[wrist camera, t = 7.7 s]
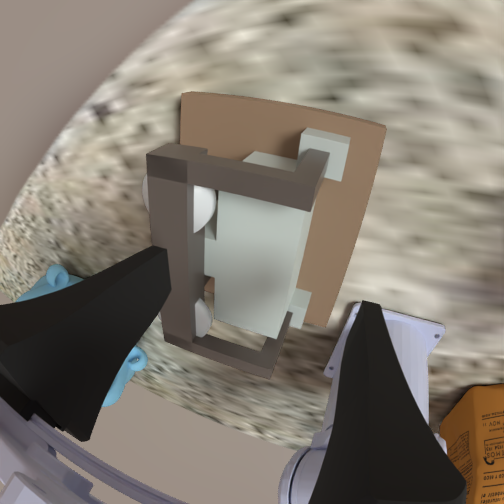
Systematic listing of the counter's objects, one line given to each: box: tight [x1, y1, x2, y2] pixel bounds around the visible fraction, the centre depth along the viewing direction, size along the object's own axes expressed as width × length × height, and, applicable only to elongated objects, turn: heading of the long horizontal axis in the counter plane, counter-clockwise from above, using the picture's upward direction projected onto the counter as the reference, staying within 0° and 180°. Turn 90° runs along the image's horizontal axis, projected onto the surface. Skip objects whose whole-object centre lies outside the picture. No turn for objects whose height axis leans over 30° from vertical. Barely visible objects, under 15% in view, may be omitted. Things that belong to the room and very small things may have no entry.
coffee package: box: [440, 384, 504, 504], centre depth 15 cm, size 10×12×22 cm
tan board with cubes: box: [180, 91, 387, 339], centre depth 19 cm, size 12×15×6 cm
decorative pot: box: [16, 264, 148, 407], centre depth 31 cm, size 16×16×14 cm
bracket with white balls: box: [142, 143, 330, 379], centre depth 17 cm, size 8×12×5 cm, turn 174°
